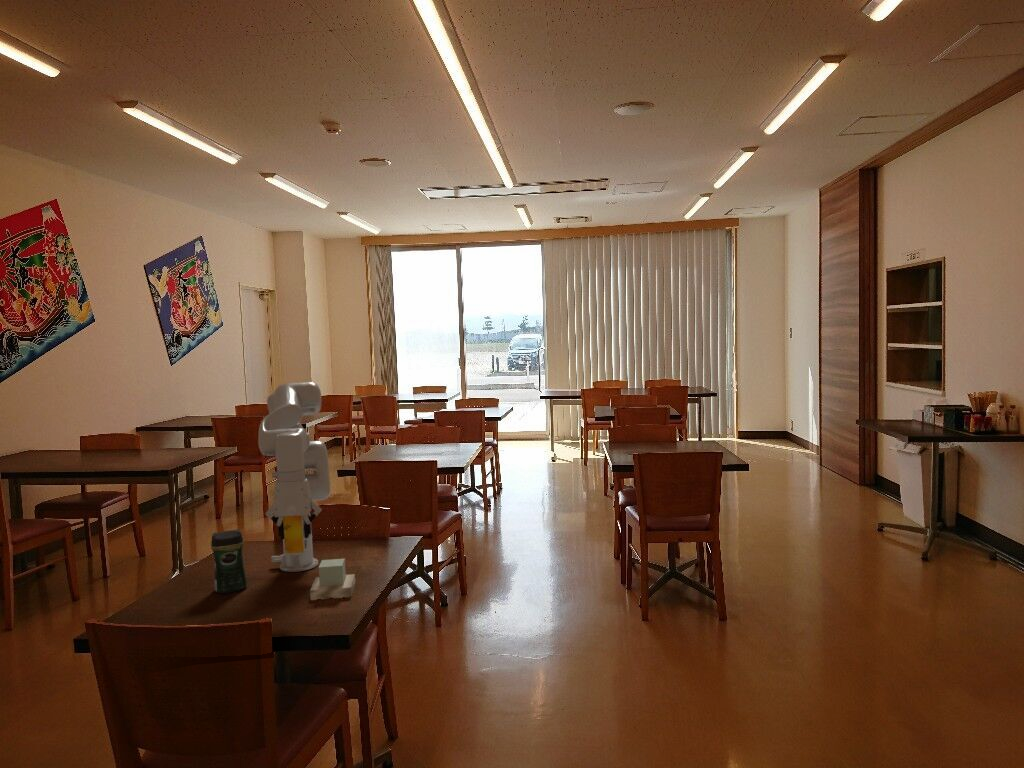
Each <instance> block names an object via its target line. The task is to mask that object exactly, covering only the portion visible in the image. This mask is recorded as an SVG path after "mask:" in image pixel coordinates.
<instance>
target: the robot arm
mask: <svg viewBox="0 0 1024 768" xmlns="http://www.w3.org/2000/svg"><path fill="white" fill-rule="evenodd" d="M322 401H323V399H322V392H321V388H320V387H319V385H318V384H316V383H315V382H312V381H305V382H304V381H303V382H288V383H283V384H281V385H279V386H278V387H276V388H275V390H274V392H273V393H271V394H269V396H268V397H267V399H266V406H267V408H268V413H269V414H267V415H266V416H265V417H263V419H262V420H261V422H260V424H259V427H258V440H257V442H258V448H259V451H260V453H261V454H262V455H263V456H267V457H270V456H271V457H272V456H275V460H276V472H272V475H271V478H274V479H276V481H275V482H274V487H273V504H272V506H270V507H269V509H267V511H266V512H265V516H266V517H268V518H269V519H270V520H271V521H272V522H273V523H274V524H276V526H277V528H278V536H279V537H280V540H281V541H282V544H283V545H282V548H283V554H280V555H271V557H270V561H271V562H272V563H273V564H279V563H280V564H279V569H280V570H281V571H282V572H286V573H287V572H289V573H297V572H298V573H299V572H303V571H304V572H305V571H309V570H311V569H314V568H316V567H318V565H319V560H318V559H317V558H315V557H314V548H313V534H312V522H313V521H314V520H315V519H316V517H317V516H318V515H319V514H320V513H321V512H322V507H320V506H319V505H318V504H316V503H315V502H319V501H325V500H327V499H328V498H329V497H330V495H331V477H330V467H329V466H330V465H329V454H328V449H327V448H328V447H327V446H326V444H325V443H324V442H323V441H321V440H312V441H311V440H310V439H311V438H310V437H311V436H310V434H309V432H308V431H307V430H306V429H304V427H303V425H302V423H301V421H302V419H303V416H314V415H317V414H319V413H320V411H321V410H322ZM306 470H314V471H315V472H310V473H305V471H306ZM289 505H293V506H294V507H296V515H297V516H303V518H304V520H305V525H304V530H305V538H306V541H307V550H306V551H305V553H304V554H301V555H296V556H290V555H287V553H286V552H285V544H284V529H283V517H286V516H287V508H288V506H289ZM312 510H314V511H313V513H312V514H311V511H312Z"/></svg>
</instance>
